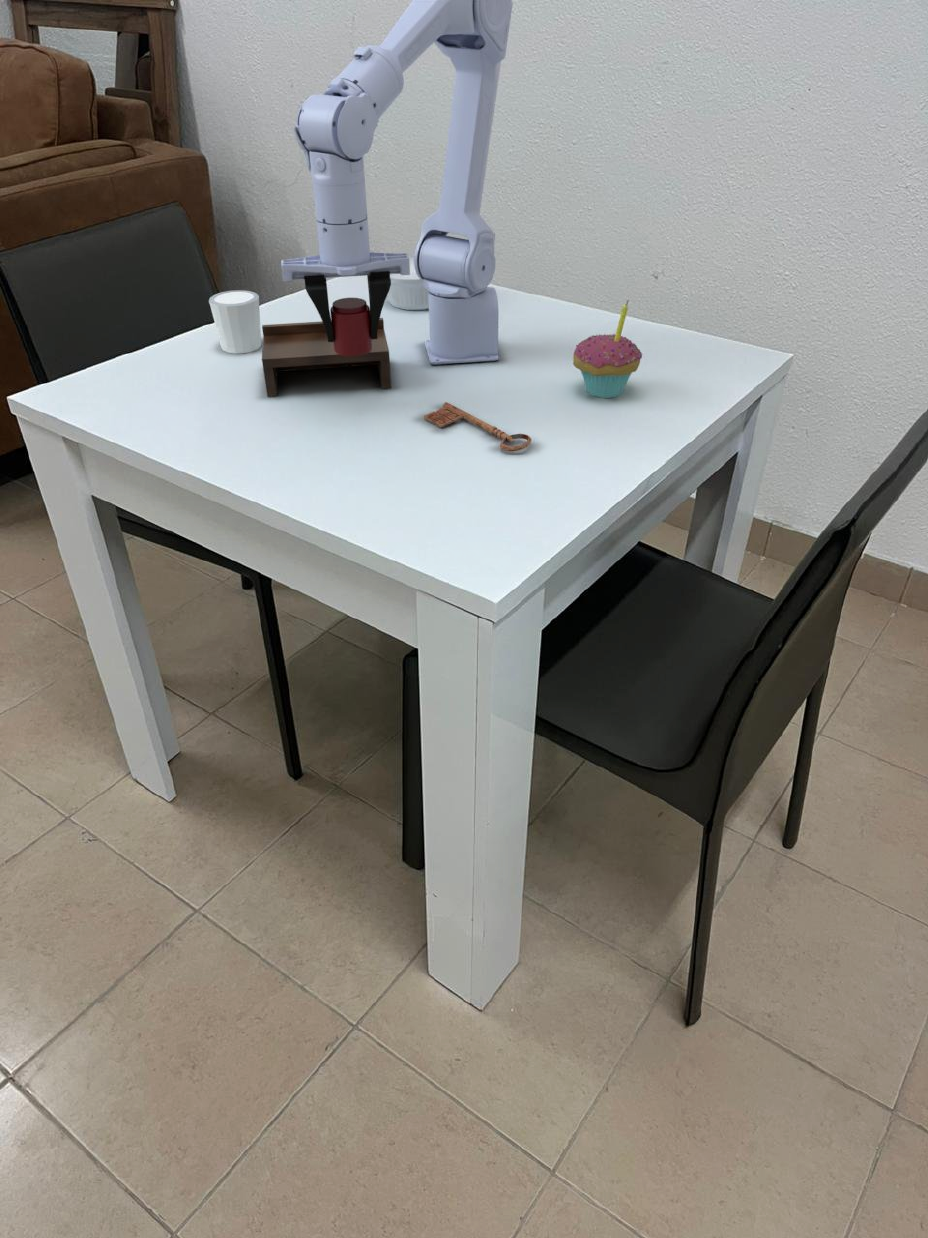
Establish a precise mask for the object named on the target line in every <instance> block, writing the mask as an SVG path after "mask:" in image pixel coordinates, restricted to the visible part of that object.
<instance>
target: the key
mask: <svg viewBox="0 0 928 1238" xmlns="http://www.w3.org/2000/svg"><path fill="white" fill-rule="evenodd" d="M423 419H425V420H426V421H428V422H430V423H432V424H433V425H435V426H437V427H439V428H444V427H446V426H448V425H450V424H452V423H454V422H457V421H459V420H462V419H464V420H466V421H468V422H469V423H471V424H473V425H475V426H477V427H479V428H481V429H482V430H485V431H486V432H488V433H489V434H490V435H493V436H495V437H497V438H499V439H500V440H501V441H500V448H501V449H502V450H503V451H506V452H519V451H521V450H524V449H526V448H528V447H529V446H530V445H531V443H532V437H531V436H530V435H528V434H524V433H514V434H511V435H509V434H507V433H506V432H505V431H504V430H501V429H499V428H497V427H496V426H495V425H494V426H493V425H491V424H489V423H487V422H485V421H484V420H482V419H480V418H477V416H474V415H472V414H470V413H468V412H466V411H464V410H462V409H461V408H459V407H457V406H455V405H453V404H451V403H449V402H448V401H445V402H444V403H443V404H442V407H441V408H439V409H436V410H434V411H432V412H430V413H427V414H425V415H424V416H423ZM518 439H519V440H520V439H522V440H526V442H524V443H522V444H519V445H514V446H509V445H506V443H514V442H515V440H518Z"/></svg>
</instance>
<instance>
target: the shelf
mask: <svg viewBox="0 0 928 1238" xmlns="http://www.w3.org/2000/svg"><path fill="white" fill-rule="evenodd" d="M384 322H385V321H384V318H383V317H380V319H379V325H378V333H377V339H372V350H371V351H370V352H369V353H367V354H364V355H359V356H343V355H340V354H337V353H336V352H335V351H334V342H328V338H327V334H326V330H325V327H324V324H323V322H322V320H321V321H307V322H291V323H273V324H262V325H261V330H262V337H263V338H262V352H261V363H262V369H263V371H262V372H263V377H264V382H265V390H266V397H268V398H269V397H277V395H278V393H277V392H278V372H287V371H288V372H289V371H303V370H304V371H305V370H317V369H318V370H319V369H334V368H335V369H336V368H349V367H363V366H365V367H366V366H377V369H378V374H379V375H378V376H379V379H380V385H381V389H383V390H385V389H392V376H391V375H392V374H391V361H390V359H391V357H390V350H389V349H390V348H389V345H388V340H387V336H386V332H385V323H384Z"/></svg>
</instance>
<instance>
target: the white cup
mask: <svg viewBox="0 0 928 1238" xmlns="http://www.w3.org/2000/svg"><path fill="white" fill-rule="evenodd" d="M208 304H209V306H210V310H211V313H212V314H211V315H212V318H213V321H214V325H215V329H216V332H217V336H218V340H219V344H220V347H221V350H222V351H223V352H225V353H228V354H235V355H236V354H237V355H238V354H247V353H253V352H254V351H257V350H258V349H260V348H261V347H262V333H261V332H262V331H261V330H262V328H261V311H260V296H259V294H258V293H256V292H254V291H251V290H244V289H243V290H241V289H239V290H237V289H236V290H227V291H226V290H225V291H221V292H218V293H215V294H213V295H211V296H210V297H209V299H208Z"/></svg>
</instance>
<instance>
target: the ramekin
mask: <svg viewBox="0 0 928 1238" xmlns="http://www.w3.org/2000/svg"><path fill="white" fill-rule="evenodd" d="M409 263H410V275H401V274H390V279H391V286H390V290H389V292H388V294H387V297H386V300H387V301H388V303H389V304H390V305H391V306H392V307H394V308H396V309H400V310H406V311H408V310H409V311H423V310H429V297H428V290H427V289H425V288H424V284H423V280H421V279H420V278H419V277H418V276H417V274H416V271H415V267H414V257H409Z"/></svg>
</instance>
